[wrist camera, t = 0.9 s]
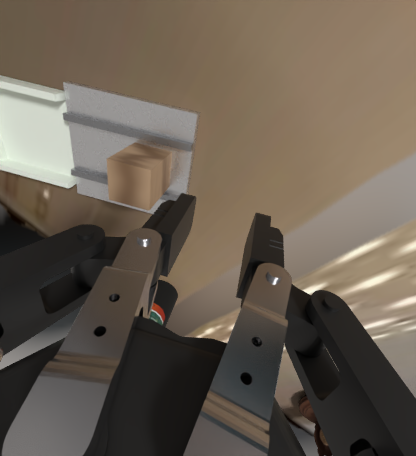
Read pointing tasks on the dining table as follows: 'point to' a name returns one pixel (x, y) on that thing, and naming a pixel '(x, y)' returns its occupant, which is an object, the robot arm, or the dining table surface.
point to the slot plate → (126, 137)
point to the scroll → (318, 434)
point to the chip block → (138, 175)
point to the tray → (35, 132)
